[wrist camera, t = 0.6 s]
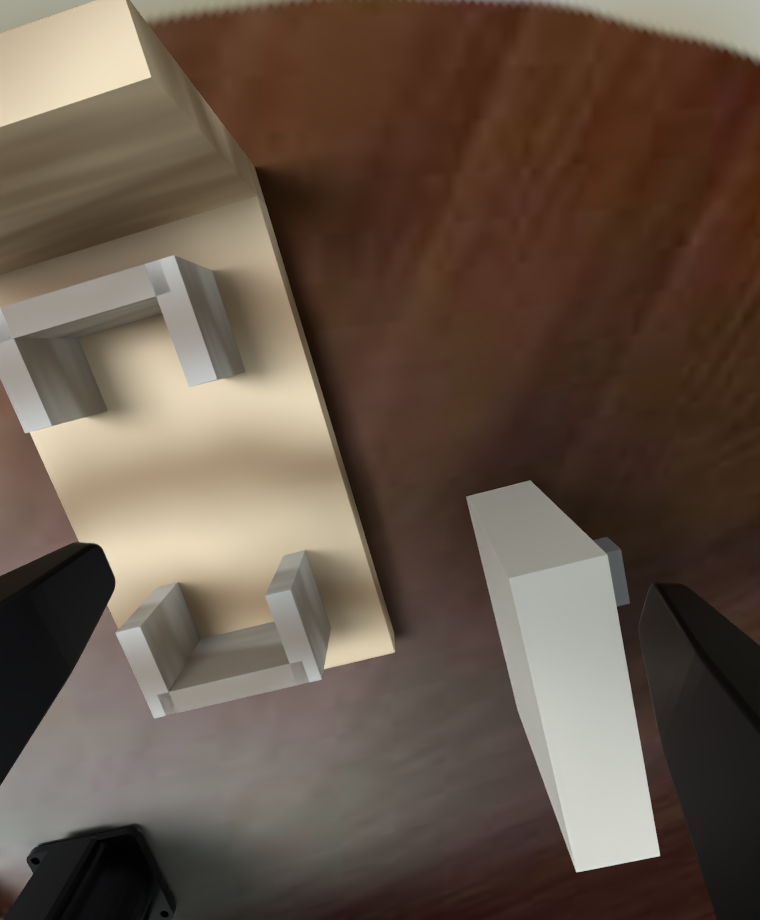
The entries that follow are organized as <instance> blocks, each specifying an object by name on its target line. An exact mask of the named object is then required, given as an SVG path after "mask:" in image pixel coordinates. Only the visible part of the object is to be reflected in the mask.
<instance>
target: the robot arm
mask: <svg viewBox="0 0 760 920" xmlns="http://www.w3.org/2000/svg"><path fill="white" fill-rule="evenodd" d="M115 584H116V581H115V576H114V574H113V571H112V569H111V567H110V564H109V562H108V560H107V558H106V555H105V553H104V551H103V549H102V547H101V546H99V545H98V544H95V543H84V542H75V543H72V544H69V545H67V546H65V547H63V548H60V549H58V550H56V551H54V552H52V553H50V554H47V555H45V556H43V557H41V558H39V559H37V560H34V561H32V562H30V563H28V564H26V565H24V566H21V567H19V568H17V569H15V570H13V571H11V572H8V573H6V574H4V575H2V576H0V785H1V784H2V782H3V780H4V779H5V777H6V776H7V774H8V773H9V771H10V769H11V768H12V766H13V765H14V763H15V762H16V760H17V758H18V757H19V755H20V754H21V752H22V750H23V749H24V747H25V746H26V744H27V743H28V741H29V739H30V738H31V736H32V735H33V733H34V732H35V730H36V728H37V727H38V725H39V724H40V722H41V721H42V719H43V717H44V716H45V714H46V713H47V711H48V709H49V708H50V706H51V705H52V703H53V702H54V700H55V698H56V697H57V695H58V694H59V692H60V691H61V689H62V687H63V686H64V684H65V683H66V681H67V679H68V678H69V676H70V674H71V673H72V671H73V669H74V667H75V665H76V664H77V662H78V660H79V658H80V656H81V654H82V652H83V650H84V648H85V646H86V645H87V643H88V641H89V639H90V637H91V635H92V633H93V631H94V629H95V627H96V625H97V623H98V621H99V619H100V617H101V616H102V614H103V612H104V610H105V608H106V606H107V604H108V602H109V600H110V598H111V596H112V594H113V592H114V589H115ZM639 639H640V644H641V649H642V654H643V659H644V664H645V669H646V674H647V679H648V684H649V688H650V693H651V698H652V703H653V708H654V713H655V718H656V723H657V728H658V732H659V737H660V741H661V745H662V748H663V752H664V755H665V759H666V762H667V765H668V768H669V771H670V775H671V778H672V781H673V784H674V787H675V790H676V793H677V796H678V800H679V803H680V806H681V809H682V812H683V815H684V818H685V822H686V825H687V828H688V831H689V834H690V837H691V840H692V843H693V847H694V850H695V853H696V856H697V859H698V862H699V865H700V868H701V872H702V875H703V878H704V881H705V884H706V887H707V890H708V893H709V897H710V900H711V903H712V906H713V909H714V912H715V915H716V918H717V920H760V645H758V644H757V643H756V642H755V641H753V640H752V639H751V638H750V637H749V636H747V635H746V634H745V633H744V632H742V631H741V630H740V629H739V628H737V627H736V626H735V625H734V624H733V623H731V622H730V621H729V620H728V619H726V618H725V617H724V616H723V615H721V614H720V613H719V612H718V611H717V610H715V609H714V608H713V607H712V606H710V605H709V604H708V603H707V602H705V601H704V600H703V599H702V598H701V597H699V596H698V595H697V594H696V593H694V592H693V591H692V590H691V589H689V588H688V587H687V586H685V585H682V584H675V583H661V582H656V583H653V584H652V585H651V586H650V588H649V590H648V593H647V596H646V600H645V603H644V607H643V610H642V614H641V617H640V621H639ZM27 863H28V865H29V866H30V868H31V870H32V872H33V873H34V874H33V875H32V877H31V878H30V880H29V881H28V883H27V884H26V886H25V887H24V889H23V890H22V892H21V894H20V895H19V897H18V898H17V900H16V901H15V903H14V904H13V906H12V907H11V909H10V910H9V912H8V913H7V915H6V916H5V918H4V920H170V919H171V918H172V917H173V915H174V912H175V909H176V904H175V902H174V900H173V898H172V896H171V894H170V892H169V890H168V888H167V886H166V884H165V882H164V880H163V878H162V876H161V874H160V872H159V870H158V868H157V866H156V864H155V862H154V860H153V858H152V856H151V854H150V852H149V850H148V848H147V846H146V844H145V842H144V840H143V838H142V836H141V834H140V832H139V831H138V830H137V829H136V828H133V827H127V828H122V829H118V830H113V831H108V832H104V833H99V834H95V835H90V836H85V837H81V838H76V839H71V840H67V841H62V842H58V843H53V844H48V845H44V846H39V847H36V848H34V849H33V850H32V851H31V853H30V854H29V856H28V857H27Z"/></svg>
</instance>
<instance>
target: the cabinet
mask: <svg viewBox="0 0 760 920" xmlns="http://www.w3.org/2000/svg"><path fill="white" fill-rule="evenodd" d="M0 379H1V381H2V383H3V385H4V388H5V390H6V392H7V394H8V396H9V399H10V401H11V403H12V405H13V407H14V410H15V412H16V414H17V416H18V418H19V421H20V423H21V425H22V427H23V430H24V432H25V433H28V432H30V434H31V436H32V438H33V441H34V443H35V445H36V447H37V449H38V452H39V454H40V456H41V458H42V461H43V463H44V465H45V467H46V469H47V472H48V474H49V476H50V478H51V481H52V483H53V485H54V487H55V489H56V492H57V494H58V496H59V498H60V501H61V503H62V505H63V507H64V509H65V512H66V514H67V516H68V518H69V521H70V523H71V525H72V527H73V529H74V532H75V534H76V536H77V538H78V541H79V542H84V543H95V544H98V545H99V546H101V547H102V549H103V551H104V553H105V555H106V558H107V560H108V562H109V564H110V567H111V569H112V571H113V574H114V576H115V581H116V584H115V589H114V592H113V594H112V596H111V598H110V600H109V602H108V604H107V605H108V607H109V609H110V612H111V614H112V616H113V618H114V620H115V623H116V625H117V627H118V630H117V632H116V635H117V637H118V639H119V642H120V644H121V646H122V648H123V650H124V653H125V655H126V657H127V659H128V661H129V664H130V666H131V668H132V670H133V672H134V675H135V677H136V679H137V681H138V684H139V686H140V688H141V690H142V692H143V695H144V697H145V699H146V701H147V703H148V706H149V708H150V710H151V712H152V714H153V717H154V718H158V717H162V716H166V715H171V714H175V713H179V712H184V711H188V710H192V709H197V708H201V707H205V706H210V705H214V704H218V703H222V702H227V701H231V700H235V699H240V698H244V697H248V696H253V695H257V694H261V693H266V692H270V691H274V690H278V689H283V688H287V687H291V686H296V685H300V684H304V683H309V682H313V681H317V680H322V676H323V670H324V669H326V668H331V667H335V666H339V665H343V664H348V663H352V662H356V661H361V660H365V659H369V658H373V657H378V656H382V655H386V654H391V653H395V640H394V631H393V628H392V624H391V621H390V618H389V614H388V611H387V608H386V604H385V601H384V598H383V594H382V591H381V588H380V584H379V581H378V578H377V574H376V571H375V568H374V564H373V561H372V558H371V554H370V551H369V548H368V544H367V541H366V538H365V534H364V531H363V528H362V524H361V521H360V518H359V514H358V511H357V507H356V504H355V501H354V497H353V494H352V491H351V487H350V484H349V481H348V477H347V474H346V471H345V467H344V464H343V461H342V457H341V454H340V451H339V447H338V444H337V441H336V437H335V434H334V431H333V427H332V424H331V421H330V417H329V414H328V411H327V407H326V404H325V401H324V397H323V394H322V391H321V387H320V384H319V381H318V377H317V374H316V371H315V367H314V364H313V361H312V357H311V354H310V351H309V347H308V344H307V341H306V337H305V334H304V331H303V327H302V324H301V321H300V317H299V314H298V310H297V307H296V304H295V300H294V297H293V294H292V290H291V287H290V284H289V280H288V277H287V274H286V270H285V267H284V264H283V260H282V257H281V254H280V250H279V247H278V244H277V240H276V237H275V234H274V230H273V227H272V224H271V220H270V217H269V214H268V210H267V207H266V204H265V200H264V197H263V194H262V190H261V187H260V184H259V180H258V177H257V174H256V170H255V167H254V165H253V164H252V162H251V161H250V160H249V158H248V157H247V156H246V155H245V153H244V152H243V151H242V149H241V148H240V147H239V145H238V144H237V143H236V141H235V140H234V139H233V137H232V136H231V135H230V133H229V132H228V131H227V129H226V128H225V127H224V125H223V124H222V123H221V121H220V120H219V119H218V117H217V116H216V115H215V113H214V112H213V111H212V109H211V108H210V107H209V105H208V104H207V103H206V101H205V100H204V99H203V97H202V96H201V95H200V93H199V92H198V91H197V89H196V88H195V87H194V85H193V84H192V83H191V81H190V80H189V79H188V77H187V76H186V75H185V73H184V72H183V71H182V69H181V68H180V67H179V65H178V64H177V63H176V61H175V60H174V59H173V57H172V56H171V55H170V53H169V52H168V51H167V49H166V48H165V47H164V45H163V44H162V43H161V41H160V40H159V39H158V37H157V36H156V35H155V33H154V32H153V31H152V29H151V28H150V27H149V25H148V24H147V23H146V21H145V20H144V19H143V17H142V16H141V15H140V13H139V12H138V11H137V9H136V8H135V7H134V5H133V4H132V3H131V1H130V0H96V1H93V2H91V3H87V4H85V5H81V6H79V7H76V8H73V9H70V10H67V11H64V12H61V13H58V14H56V15H53V16H50V17H47V18H44V19H41V20H38V21H35V22H32V23H29V24H26V25H24V26H21V27H18V28H15V29H12V30H9V31H6V32H3V33H1V34H0Z"/></svg>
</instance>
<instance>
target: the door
mask: <svg viewBox="0 0 760 920" xmlns="http://www.w3.org/2000/svg"><path fill="white" fill-rule="evenodd" d="M466 499H467V503H468V507H469V512H470V516H471V520H472V524H473V528H474V532H475V536H476V540H477V545H478V549H479V553H480V557H481V561H482V565H483V569H484V574H485V578H486V582H487V586H488V590H489V594H490V598H491V602H492V607H493V611H494V615H495V619H496V623H497V627H498V631H499V636H500V640H501V644H502V648H503V652H504V656H505V660H506V665H507V669H508V673H509V677H510V681H511V685H512V689H513V693H514V698H515V702H516V706H517V710H518V713H519V716H520V718H521V721H522V724H523V727H524V729H525V732H526V735H527V738H528V740H529V743H530V746H531V749H532V751H533V754H534V757H535V760H536V762H537V765H538V768H539V771H540V774H541V776H542V779H543V782H544V785H545V787H546V790H547V793H548V796H549V798H550V801H551V804H552V807H553V809H554V812H555V815H556V818H557V820H558V823H559V826H560V829H561V831H562V834H563V837H564V840H565V842H566V845H567V848H568V851H569V854H570V856H571V859H572V862H573V865H574V867H575V870H576V872H581V871H587V870H592V869H597V868H602V867H607V866H612V865H617V864H622V863H627V862H632V861H637V860H642V859H647V858H652V857H657V856H660V852H659V846H658V841H657V835H656V829H655V824H654V818H653V812H652V806H651V801H650V795H649V789H648V783H647V778H646V772H645V766H644V761H643V755H642V749H641V743H640V738H639V732H638V726H637V721H636V715H635V709H634V703H633V698H632V692H631V686H630V680H629V675H628V669H627V663H626V658H625V652H624V646H623V640H622V635H621V629H620V623H619V617H618V612H617V606H621V605H626V604H630V600H629V594H628V588H627V582H626V576H625V570H624V564H623V558H622V552H621V549H620V548H619V547H618V546H617V545H616V544H615V543H613V542H612V541H611V540H610V539H609V538H608V537H604V538H600V539H596V540H592V539H591V538H590V537H589V536H588V535H587V534H586V533H585V532H584V531H582V530H581V529H580V528H579V527H578V526H577V525H576V524H575V523H574V522H573V521H572V520H571V519H570V518H569V517H568V516H567V515H566V514H565V513H564V512H563V511H562V510H561V509H560V508H559V507H557V506H556V505H555V504H554V503H553V502H552V501H551V500H550V499H549V498H548V497H547V496H546V495H545V494H544V493H543V492H542V491H541V490H540V489H539V488H538V487H537V486H536V485H535V484H534V483H532V482H531V481H530V480H529V481H526V482H522V483H518V484H514V485H510V486H506V487H502V488H498V489H494V490H490V491H486V492H482V493H478V494H474V495H470V496H466Z"/></svg>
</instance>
